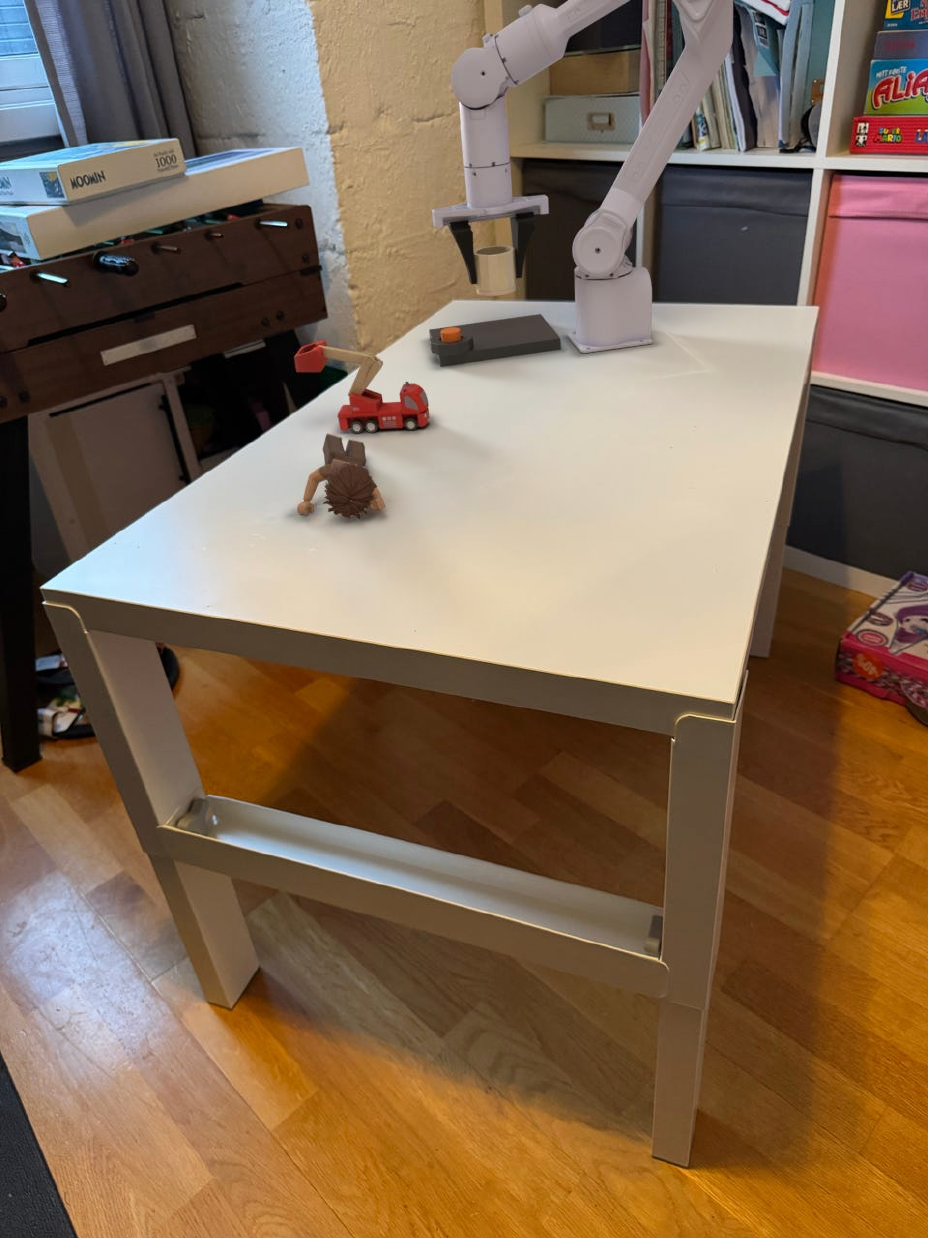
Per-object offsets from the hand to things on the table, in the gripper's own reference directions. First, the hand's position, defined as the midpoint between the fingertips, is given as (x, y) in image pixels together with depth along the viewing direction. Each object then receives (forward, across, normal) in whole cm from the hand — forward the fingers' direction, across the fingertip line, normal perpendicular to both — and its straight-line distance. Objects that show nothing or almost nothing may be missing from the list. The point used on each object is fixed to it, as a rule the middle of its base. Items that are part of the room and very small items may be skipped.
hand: (495, 279), depth 115 cm
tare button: (+6, -7, -4) cm, 10 cm away
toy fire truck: (+9, -19, -23) cm, 31 cm away
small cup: (+1, 0, 0) cm, 1 cm away
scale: (+8, -1, 0) cm, 8 cm away
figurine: (+9, -23, -39) cm, 47 cm away
